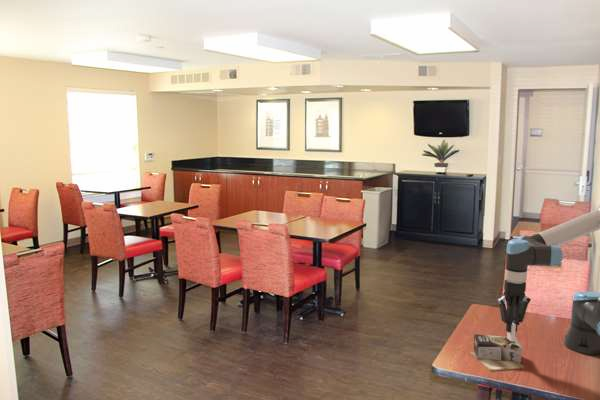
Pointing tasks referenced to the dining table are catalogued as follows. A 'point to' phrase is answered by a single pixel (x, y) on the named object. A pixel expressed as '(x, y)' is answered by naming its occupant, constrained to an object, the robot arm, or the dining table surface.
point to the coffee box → (497, 348)
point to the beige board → (497, 364)
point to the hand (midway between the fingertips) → (510, 339)
